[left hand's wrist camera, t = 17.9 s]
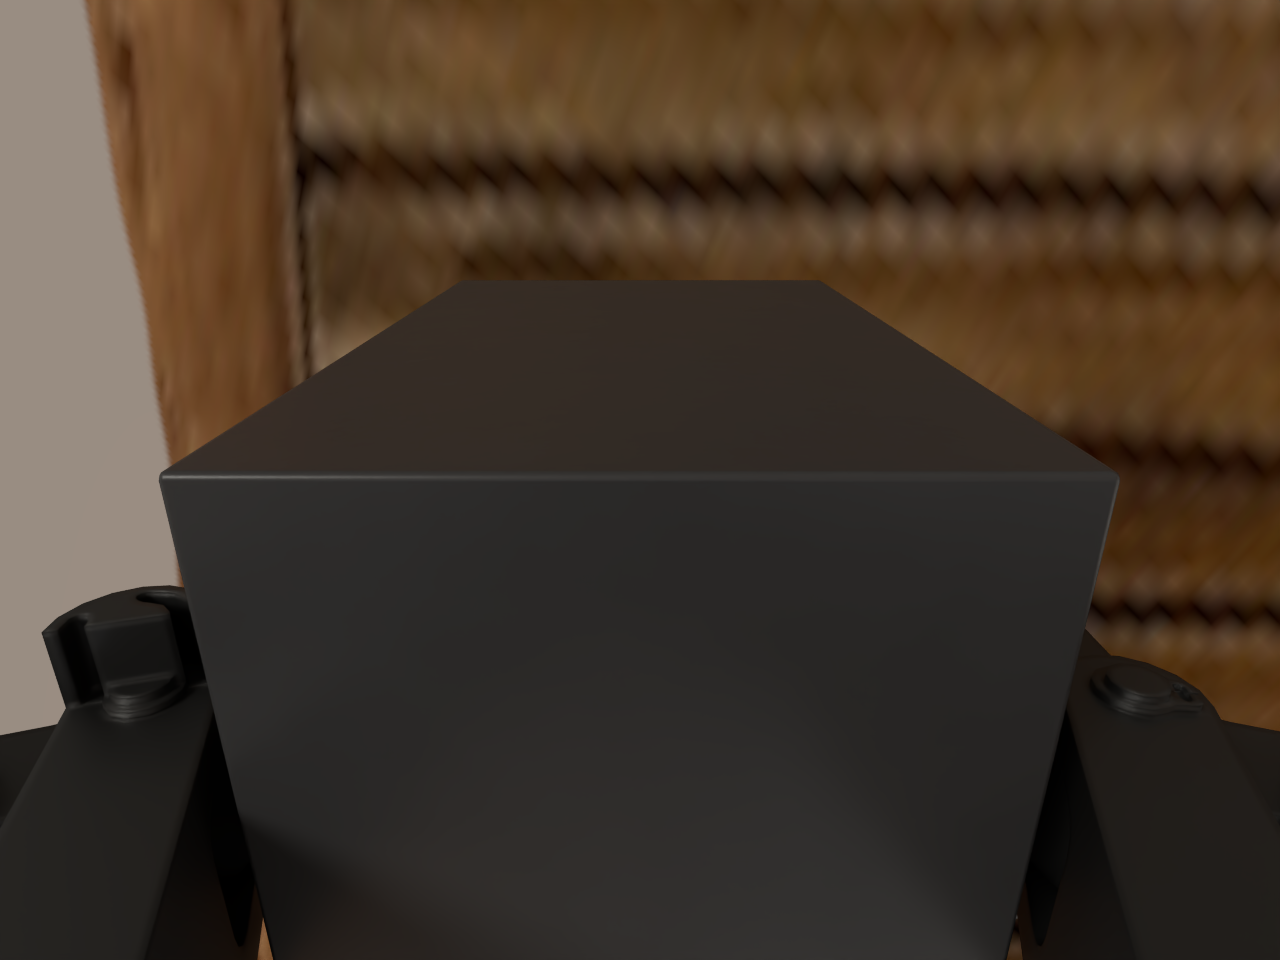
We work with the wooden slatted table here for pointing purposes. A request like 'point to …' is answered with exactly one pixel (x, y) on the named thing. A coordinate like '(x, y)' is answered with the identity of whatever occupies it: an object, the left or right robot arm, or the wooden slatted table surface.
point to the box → (639, 631)
